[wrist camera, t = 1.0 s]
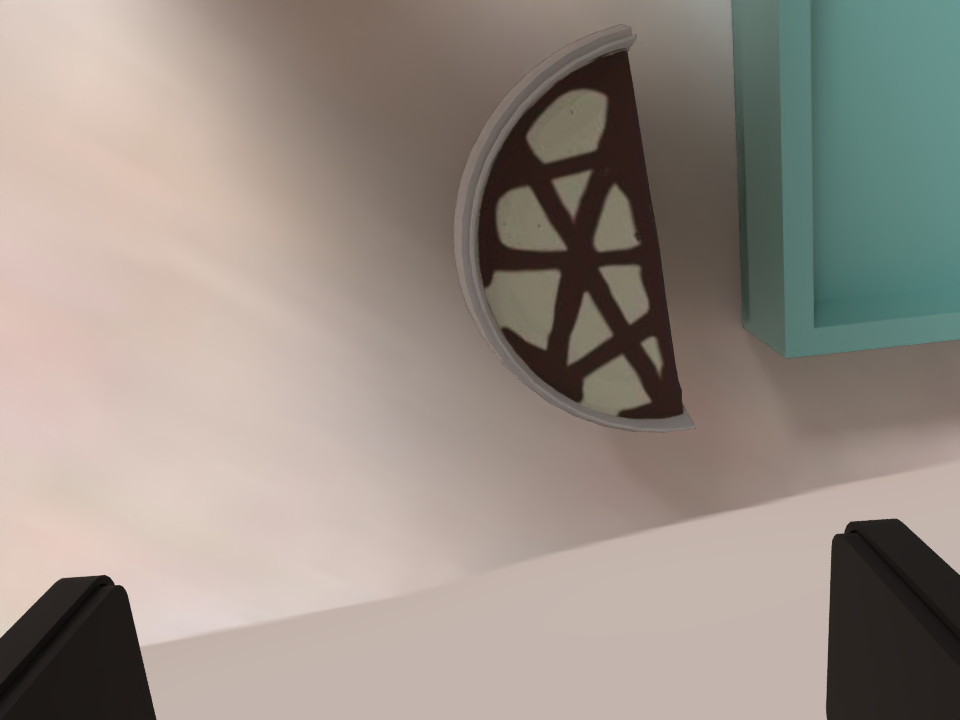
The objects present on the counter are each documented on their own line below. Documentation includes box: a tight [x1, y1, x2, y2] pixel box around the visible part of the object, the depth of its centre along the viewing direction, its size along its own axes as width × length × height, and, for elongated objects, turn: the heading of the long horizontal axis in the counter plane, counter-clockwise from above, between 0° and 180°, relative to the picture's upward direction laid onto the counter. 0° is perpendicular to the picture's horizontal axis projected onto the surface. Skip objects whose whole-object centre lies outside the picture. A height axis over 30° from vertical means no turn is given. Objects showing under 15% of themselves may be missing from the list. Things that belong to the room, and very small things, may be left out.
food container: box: [454, 24, 696, 432], centre depth 27 cm, size 12×6×10 cm, turn 12°
